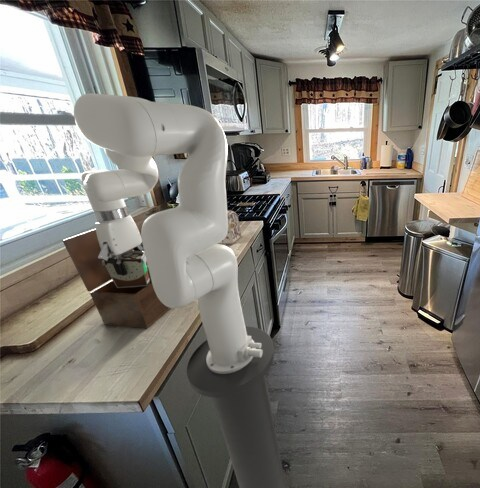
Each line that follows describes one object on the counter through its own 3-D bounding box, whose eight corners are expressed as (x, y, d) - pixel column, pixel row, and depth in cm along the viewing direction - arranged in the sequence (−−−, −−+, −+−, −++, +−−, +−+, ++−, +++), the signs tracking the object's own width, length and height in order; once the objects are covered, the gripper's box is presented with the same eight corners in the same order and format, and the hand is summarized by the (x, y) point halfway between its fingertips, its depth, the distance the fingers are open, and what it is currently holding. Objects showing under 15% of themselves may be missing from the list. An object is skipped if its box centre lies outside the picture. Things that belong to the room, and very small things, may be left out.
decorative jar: (242, 236, 150) (236, 206, 143) (233, 244, 139) (227, 211, 132) (222, 236, 151) (216, 206, 144) (212, 244, 140) (205, 212, 133)
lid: (121, 220, 86) (119, 220, 86) (64, 240, 70) (62, 240, 70) (138, 264, 92) (136, 264, 92) (89, 291, 76) (87, 291, 77)
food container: (162, 276, 87) (153, 248, 83) (152, 285, 81) (142, 257, 78) (124, 278, 87) (114, 251, 83) (112, 288, 81) (100, 259, 77)
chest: (185, 295, 95) (176, 266, 90) (147, 328, 79) (134, 295, 74) (148, 293, 97) (137, 265, 93) (104, 324, 81) (89, 292, 77)
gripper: (126, 206, 83) (144, 256, 90) (70, 223, 68) (96, 282, 75) (147, 206, 82) (163, 257, 89) (94, 224, 66) (118, 283, 73)
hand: (132, 268), depth 82 cm, fingers closed on food container, 6 cm apart
